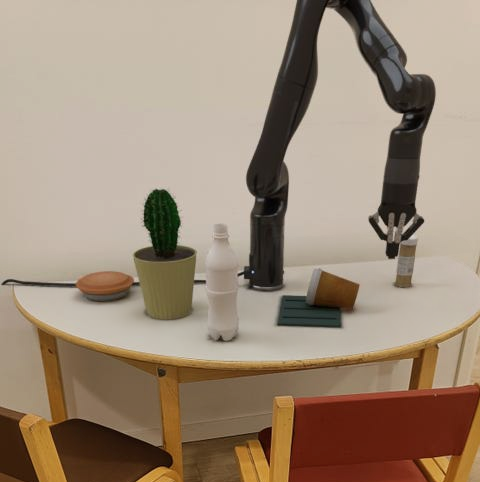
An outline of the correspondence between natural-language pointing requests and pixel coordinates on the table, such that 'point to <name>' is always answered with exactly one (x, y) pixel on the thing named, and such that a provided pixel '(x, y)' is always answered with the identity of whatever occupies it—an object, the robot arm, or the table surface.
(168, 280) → the potted cactus
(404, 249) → the sprinkles bottle
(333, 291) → the disposable coffee cup
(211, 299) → the water bottle
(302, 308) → the mat
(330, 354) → the table surface
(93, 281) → the pie
